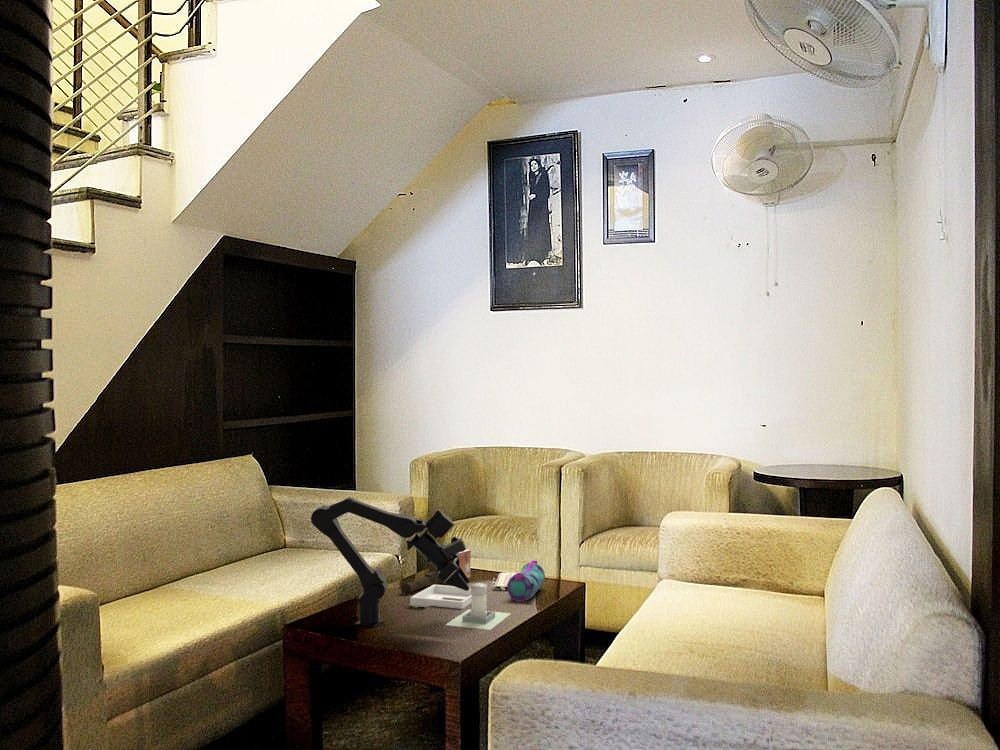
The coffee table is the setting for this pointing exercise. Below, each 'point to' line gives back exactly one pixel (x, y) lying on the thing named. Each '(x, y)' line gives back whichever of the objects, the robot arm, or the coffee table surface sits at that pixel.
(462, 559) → the small box
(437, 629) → the coffee table surface
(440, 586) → the parts tray
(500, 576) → the newspaper
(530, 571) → the pencil case
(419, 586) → the hand tool
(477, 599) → the white light bulb
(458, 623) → the green board with frame
